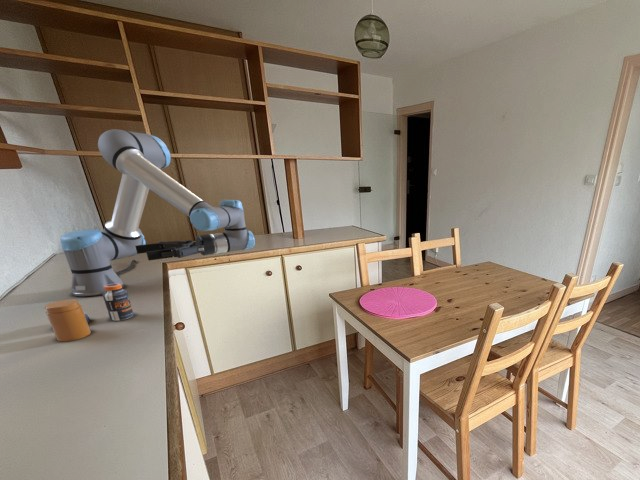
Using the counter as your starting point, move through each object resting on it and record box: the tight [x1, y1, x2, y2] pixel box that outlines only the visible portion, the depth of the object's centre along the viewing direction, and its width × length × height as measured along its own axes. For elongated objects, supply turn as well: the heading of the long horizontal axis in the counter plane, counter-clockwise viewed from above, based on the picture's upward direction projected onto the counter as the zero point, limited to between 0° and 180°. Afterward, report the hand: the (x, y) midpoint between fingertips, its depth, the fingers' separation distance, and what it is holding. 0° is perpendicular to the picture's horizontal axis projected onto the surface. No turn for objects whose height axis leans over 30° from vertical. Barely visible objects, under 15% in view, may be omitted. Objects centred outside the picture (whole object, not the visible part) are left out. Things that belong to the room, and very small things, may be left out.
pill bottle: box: [102, 283, 134, 322], centre depth 101 cm, size 6×6×11 cm
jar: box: [44, 298, 92, 342], centre depth 89 cm, size 7×7×10 cm
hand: (141, 252), depth 102 cm, fingers open, 13 cm apart
